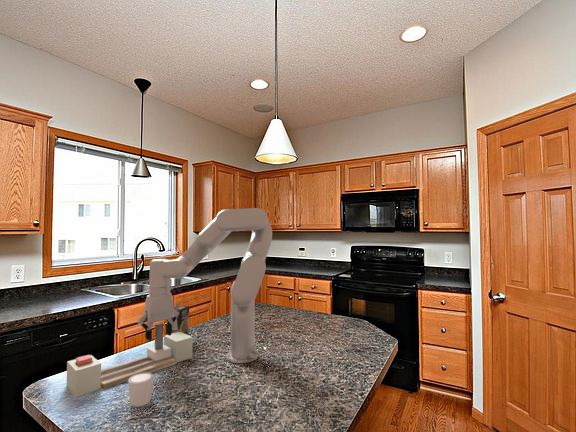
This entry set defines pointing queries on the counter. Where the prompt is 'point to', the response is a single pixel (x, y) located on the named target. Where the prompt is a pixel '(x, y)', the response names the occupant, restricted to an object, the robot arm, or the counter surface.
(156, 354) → the carriage
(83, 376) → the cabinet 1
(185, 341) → the cabinet
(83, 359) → the red block
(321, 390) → the counter surface
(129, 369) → the rail track
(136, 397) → the pale pink cylinder cup
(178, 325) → the coffee box
